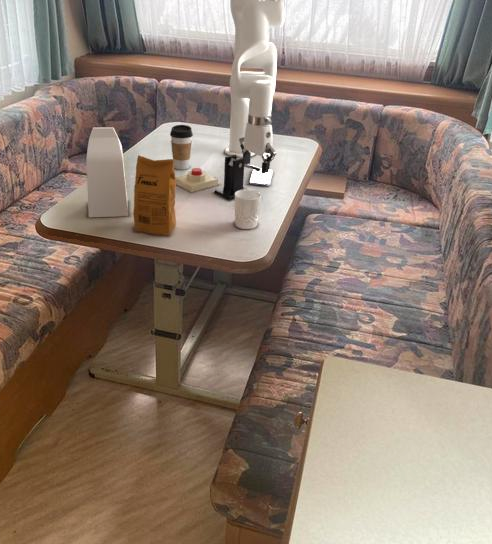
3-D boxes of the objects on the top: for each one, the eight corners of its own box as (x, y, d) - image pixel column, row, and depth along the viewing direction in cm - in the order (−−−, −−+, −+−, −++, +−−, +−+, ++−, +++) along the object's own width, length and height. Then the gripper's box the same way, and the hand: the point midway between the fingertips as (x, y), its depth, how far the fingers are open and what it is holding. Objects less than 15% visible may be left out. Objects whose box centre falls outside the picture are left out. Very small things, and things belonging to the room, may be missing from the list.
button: (197, 171, 204) (197, 167, 203) (203, 174, 202) (203, 170, 201) (189, 173, 202) (189, 169, 201) (195, 177, 200) (195, 172, 199)
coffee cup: (193, 163, 221) (194, 125, 214) (190, 171, 214) (191, 131, 207) (172, 162, 222) (172, 123, 214) (168, 170, 215) (168, 130, 207)
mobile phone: (248, 181, 204) (253, 167, 217) (248, 184, 205) (253, 170, 217) (269, 183, 203) (273, 169, 216) (269, 186, 204) (273, 171, 217)
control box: (200, 176, 210) (201, 165, 208) (218, 184, 204) (218, 174, 202) (174, 183, 203) (174, 172, 201) (191, 192, 197) (191, 181, 195)
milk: (88, 217, 177) (81, 134, 164) (90, 202, 186) (83, 122, 173) (128, 216, 178) (124, 133, 165) (127, 201, 188) (123, 122, 175)
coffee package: (141, 218, 177) (139, 149, 166) (180, 224, 175) (180, 154, 164) (129, 232, 169) (125, 160, 158) (169, 238, 166) (168, 165, 155)
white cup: (231, 219, 179) (233, 189, 174) (256, 219, 180) (259, 189, 175) (234, 230, 172) (236, 199, 167) (260, 230, 173) (263, 199, 168)
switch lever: (249, 169, 201) (251, 162, 201) (259, 173, 198) (261, 166, 197) (225, 163, 193) (227, 156, 192) (235, 167, 189) (237, 160, 189)
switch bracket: (236, 186, 203) (238, 151, 196) (251, 194, 197) (254, 158, 191) (214, 193, 197) (215, 157, 191) (229, 200, 192) (231, 163, 185)
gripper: (285, 124, 188) (280, 173, 197) (250, 111, 199) (246, 158, 208) (269, 128, 183) (264, 178, 192) (233, 115, 195) (231, 163, 204)
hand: (255, 168), depth 200 cm, fingers open, 9 cm apart
